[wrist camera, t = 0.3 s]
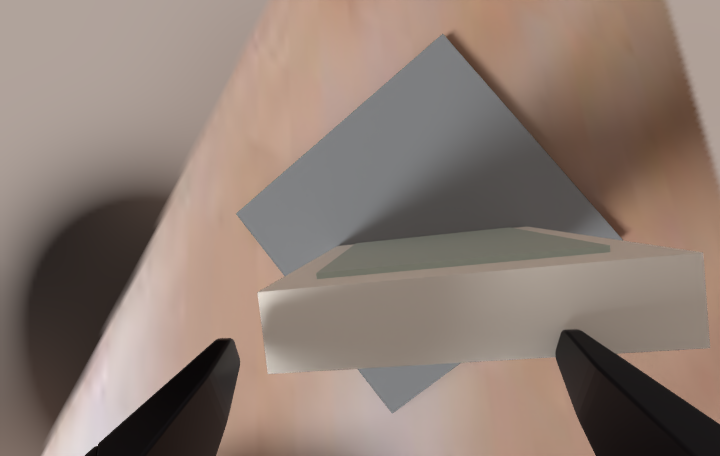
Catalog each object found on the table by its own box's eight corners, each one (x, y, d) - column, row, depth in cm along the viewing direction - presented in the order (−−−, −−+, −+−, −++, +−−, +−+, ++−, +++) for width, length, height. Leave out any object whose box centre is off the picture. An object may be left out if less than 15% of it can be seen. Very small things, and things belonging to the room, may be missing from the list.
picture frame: (530, 266, 22) (710, 348, 9) (341, 283, 24) (267, 374, 11) (526, 223, 22) (702, 244, 9) (337, 243, 23) (256, 285, 11)
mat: (616, 240, 22) (624, 241, 21) (392, 407, 24) (392, 413, 23) (441, 40, 23) (442, 33, 22) (241, 214, 25) (235, 213, 24)
